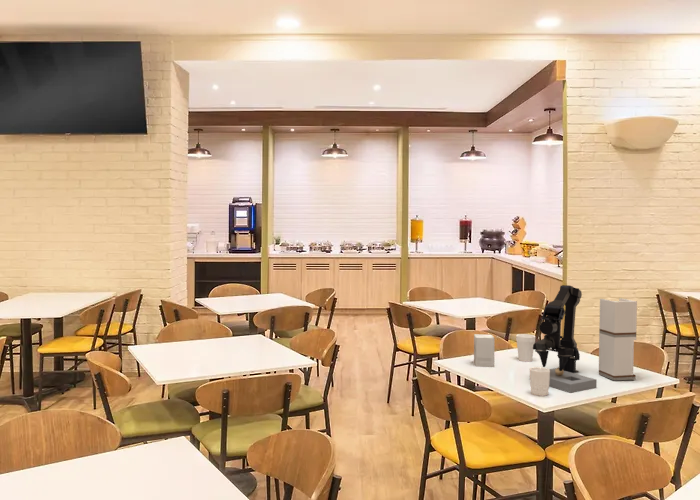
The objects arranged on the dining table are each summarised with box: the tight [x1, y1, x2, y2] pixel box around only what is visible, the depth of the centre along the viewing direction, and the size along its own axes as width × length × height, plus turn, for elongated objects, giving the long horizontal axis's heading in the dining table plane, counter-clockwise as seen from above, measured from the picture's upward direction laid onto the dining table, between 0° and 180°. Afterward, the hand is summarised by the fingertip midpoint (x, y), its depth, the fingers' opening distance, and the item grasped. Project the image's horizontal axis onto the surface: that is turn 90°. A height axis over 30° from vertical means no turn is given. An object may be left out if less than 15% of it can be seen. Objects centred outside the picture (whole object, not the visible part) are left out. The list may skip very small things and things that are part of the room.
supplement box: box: [473, 333, 495, 368], centre depth 281 cm, size 9×9×15 cm
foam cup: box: [515, 333, 536, 363], centre depth 291 cm, size 10×9×13 cm
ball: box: [555, 367, 564, 376], centre depth 249 cm, size 4×4×4 cm
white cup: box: [529, 366, 550, 397], centre depth 234 cm, size 8×8×10 cm
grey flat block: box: [548, 367, 598, 394], centre depth 248 cm, size 16×22×4 cm
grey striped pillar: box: [598, 297, 638, 381], centre depth 260 cm, size 11×11×35 cm
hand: (552, 368), depth 251 cm, fingers open, 9 cm apart
